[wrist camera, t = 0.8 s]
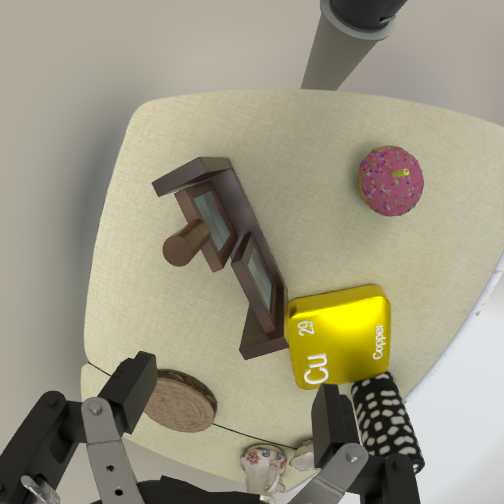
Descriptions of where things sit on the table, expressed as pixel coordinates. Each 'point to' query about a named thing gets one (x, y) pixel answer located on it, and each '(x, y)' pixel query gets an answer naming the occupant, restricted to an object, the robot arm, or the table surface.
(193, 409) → the brown flat banded disc
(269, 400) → the table surface
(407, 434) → the spotted tube
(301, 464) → the chinaware
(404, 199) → the cupcake
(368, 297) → the element tile
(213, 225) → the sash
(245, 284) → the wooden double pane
